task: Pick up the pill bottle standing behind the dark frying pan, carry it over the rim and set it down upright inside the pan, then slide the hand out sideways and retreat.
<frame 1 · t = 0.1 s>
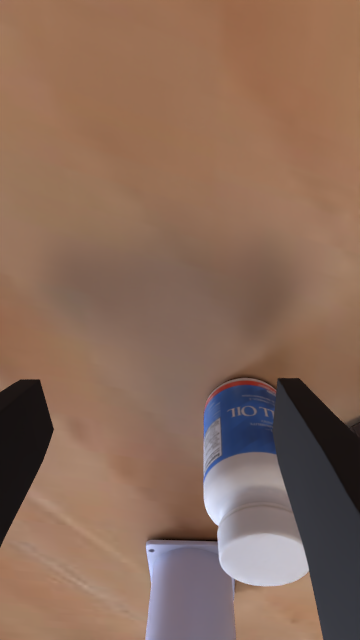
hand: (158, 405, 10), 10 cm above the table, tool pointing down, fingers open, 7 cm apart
pill bottle: (242, 405, 23), on the table
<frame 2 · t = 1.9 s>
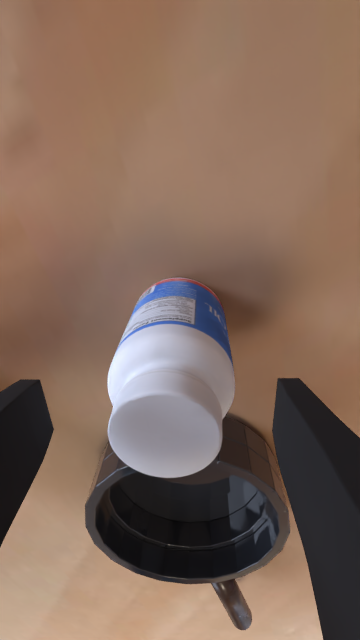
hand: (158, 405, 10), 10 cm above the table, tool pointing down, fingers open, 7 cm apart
pill bottle: (179, 315, 20), on the table
pan: (187, 471, 26), on the table
pan handle: (229, 592, 28), point 3 cm above the table
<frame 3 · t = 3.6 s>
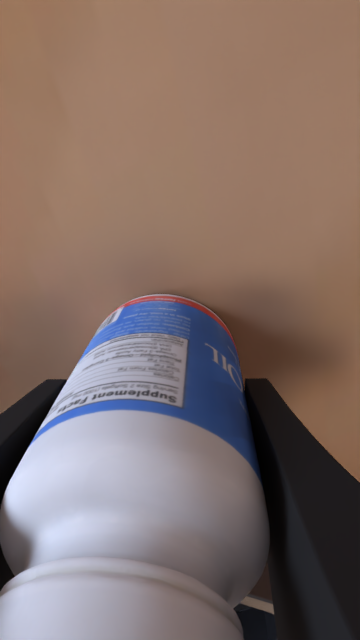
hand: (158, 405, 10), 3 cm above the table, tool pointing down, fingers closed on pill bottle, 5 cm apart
pill bottle: (166, 351, 13), on the table, touching gripper
pan: (183, 556, 19), on the table
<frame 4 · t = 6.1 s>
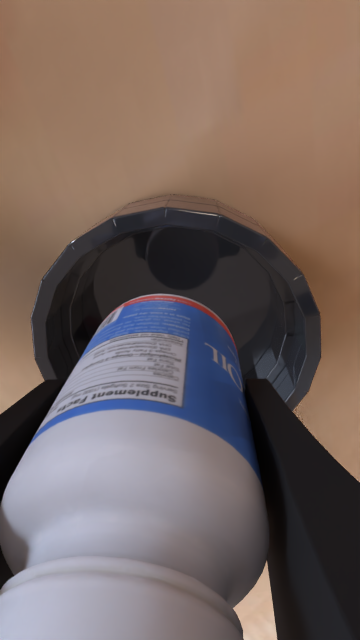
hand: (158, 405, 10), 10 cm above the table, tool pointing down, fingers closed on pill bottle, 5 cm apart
pill bottle: (166, 350, 13), point 7 cm above the table, touching gripper
pan: (178, 315, 20), on the table
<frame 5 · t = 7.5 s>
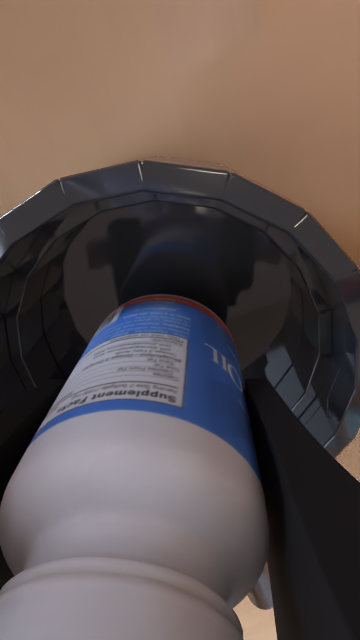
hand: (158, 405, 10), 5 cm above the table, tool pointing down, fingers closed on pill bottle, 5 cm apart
pill bottle: (166, 351, 13), point 2 cm above the table, touching gripper
pan: (171, 326, 15), on the table
pan handle: (243, 545, 17), point 3 cm above the table
when the fingers open (3 cm above the table, at t = 8.7 s): pill bottle stays where it is, resting on pan.
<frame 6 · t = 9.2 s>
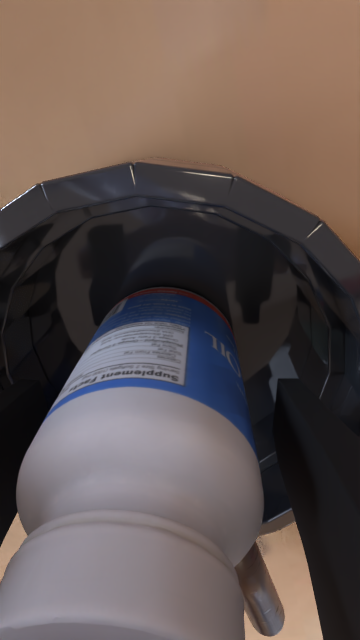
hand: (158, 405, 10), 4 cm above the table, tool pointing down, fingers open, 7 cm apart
pill bottle: (167, 342, 14), resting on pan
pan: (169, 338, 14), on the table
pan handle: (246, 569, 16), point 3 cm above the table
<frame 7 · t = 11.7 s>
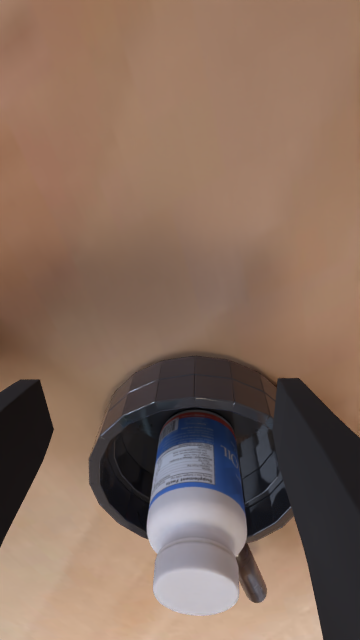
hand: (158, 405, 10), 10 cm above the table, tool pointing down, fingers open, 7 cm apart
pill bottle: (197, 433, 24), resting on pan
pan: (198, 430, 25), on the table
pan handle: (242, 561, 26), point 3 cm above the table
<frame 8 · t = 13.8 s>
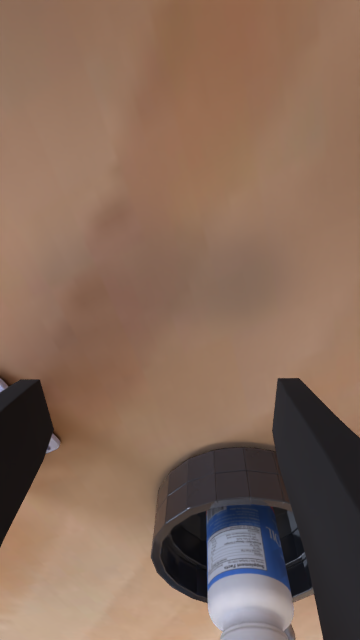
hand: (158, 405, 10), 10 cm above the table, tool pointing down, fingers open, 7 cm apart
pill bottle: (238, 504, 28), resting on pan
pan: (239, 501, 28), on the table
pan handle: (275, 614, 30), point 3 cm above the table
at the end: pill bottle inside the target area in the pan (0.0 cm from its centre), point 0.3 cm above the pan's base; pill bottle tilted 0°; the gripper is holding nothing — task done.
